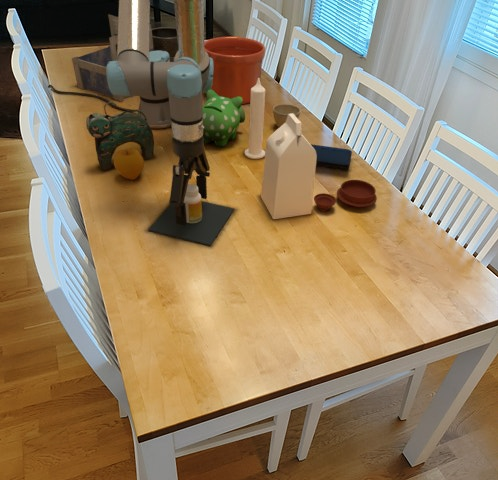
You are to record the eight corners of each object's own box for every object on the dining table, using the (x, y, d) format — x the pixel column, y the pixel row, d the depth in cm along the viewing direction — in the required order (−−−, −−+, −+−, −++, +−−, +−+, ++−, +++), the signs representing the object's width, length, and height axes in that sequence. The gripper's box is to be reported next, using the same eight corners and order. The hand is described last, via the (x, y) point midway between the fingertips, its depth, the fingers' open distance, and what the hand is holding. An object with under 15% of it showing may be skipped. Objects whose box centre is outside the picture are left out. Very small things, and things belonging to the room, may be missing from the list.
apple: (120, 168, 145) (115, 142, 139) (148, 170, 145) (145, 143, 139) (113, 183, 139) (108, 156, 132) (142, 185, 139) (138, 158, 132)
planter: (159, 62, 218) (156, 25, 207) (193, 67, 215) (191, 29, 204) (143, 74, 206) (139, 35, 195) (179, 79, 203) (176, 40, 192)
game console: (350, 158, 156) (356, 132, 150) (347, 177, 147) (352, 150, 140) (305, 151, 159) (309, 125, 152) (299, 169, 149) (302, 143, 143)
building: (120, 101, 183) (110, 38, 167) (78, 87, 192) (64, 26, 176) (158, 84, 198) (152, 24, 182) (117, 72, 207) (108, 14, 191)
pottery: (382, 208, 134) (386, 195, 131) (323, 221, 128) (326, 208, 125) (361, 188, 142) (364, 175, 139) (304, 199, 136) (306, 187, 133)
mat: (148, 231, 122) (147, 229, 122) (177, 196, 135) (177, 195, 134) (210, 246, 118) (210, 244, 118) (234, 209, 131) (234, 208, 131)
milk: (311, 213, 131) (324, 126, 113) (273, 219, 128) (281, 130, 110) (296, 191, 139) (307, 107, 121) (260, 196, 137) (265, 110, 119)
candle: (267, 151, 157) (273, 76, 140) (261, 160, 152) (266, 83, 135) (248, 147, 159) (251, 72, 141) (241, 156, 154) (243, 80, 137)
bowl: (296, 135, 167) (298, 116, 162) (269, 132, 168) (271, 112, 163) (299, 124, 174) (302, 105, 169) (274, 120, 176) (275, 102, 171)
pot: (274, 98, 191) (278, 49, 178) (225, 111, 180) (225, 60, 167) (239, 80, 205) (240, 33, 192) (191, 91, 194) (189, 42, 181)
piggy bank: (249, 134, 166) (251, 92, 156) (224, 154, 155) (224, 110, 144) (216, 125, 171) (215, 83, 161) (189, 143, 159) (187, 100, 149)
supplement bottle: (205, 216, 127) (204, 185, 121) (196, 226, 124) (194, 195, 117) (189, 210, 129) (187, 180, 122) (179, 220, 125) (176, 189, 119)
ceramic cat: (98, 173, 142) (85, 110, 129) (92, 164, 146) (78, 102, 133) (157, 159, 151) (151, 98, 137) (150, 151, 154) (142, 90, 141)
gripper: (179, 162, 100) (185, 239, 115) (221, 118, 118) (221, 190, 132) (149, 156, 102) (158, 232, 116) (194, 113, 119) (197, 185, 134)
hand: (192, 210), depth 124 cm, fingers open, 13 cm apart
